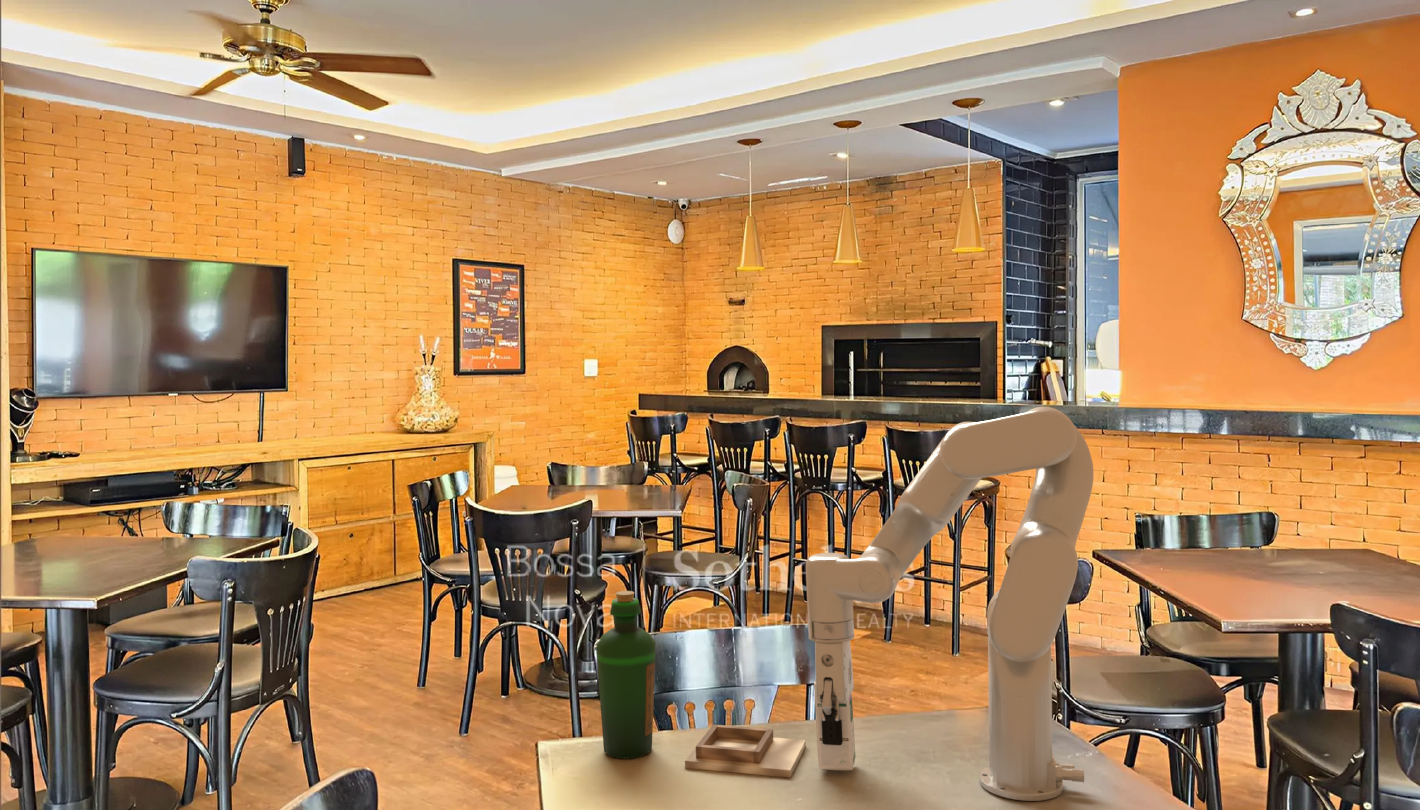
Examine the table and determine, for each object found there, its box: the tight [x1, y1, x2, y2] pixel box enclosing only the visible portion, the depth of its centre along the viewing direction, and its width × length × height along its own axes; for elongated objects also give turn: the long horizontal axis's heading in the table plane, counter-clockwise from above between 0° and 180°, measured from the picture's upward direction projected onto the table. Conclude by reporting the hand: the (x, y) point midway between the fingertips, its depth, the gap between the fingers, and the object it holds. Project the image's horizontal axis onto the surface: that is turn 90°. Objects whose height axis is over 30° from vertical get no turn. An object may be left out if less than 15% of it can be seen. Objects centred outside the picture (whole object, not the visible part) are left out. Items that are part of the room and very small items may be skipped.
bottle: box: [595, 590, 657, 760], centre depth 174 cm, size 11×11×28 cm
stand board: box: [684, 724, 807, 778], centre depth 171 cm, size 18×14×3 cm
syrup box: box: [813, 678, 856, 771], centre depth 165 cm, size 6×6×14 cm
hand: (835, 736), depth 165 cm, fingers closed on syrup box, 5 cm apart
